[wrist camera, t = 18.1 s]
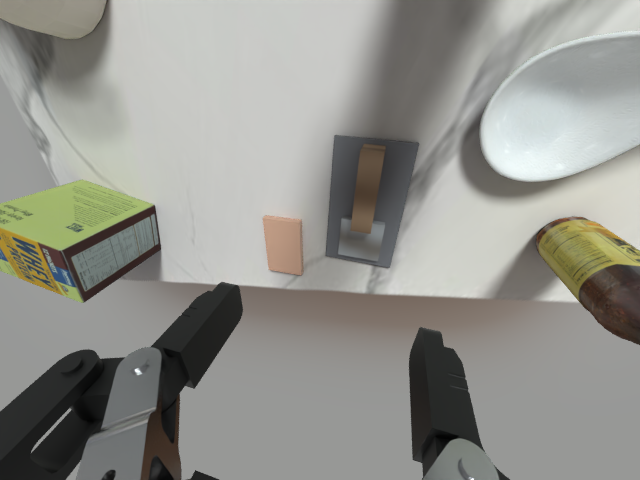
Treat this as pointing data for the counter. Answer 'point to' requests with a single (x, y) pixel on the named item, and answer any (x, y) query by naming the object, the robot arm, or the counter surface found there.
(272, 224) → the tile
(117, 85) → the counter surface
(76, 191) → the protein box
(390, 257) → the mat
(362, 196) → the tall tan post
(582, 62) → the spoon rest
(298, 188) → the counter surface
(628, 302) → the sauce bottle
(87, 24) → the kettle
